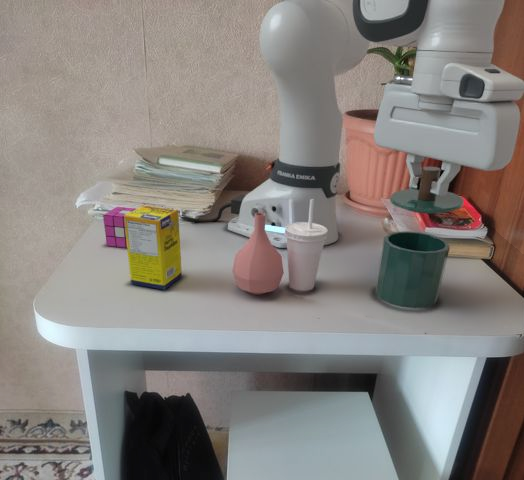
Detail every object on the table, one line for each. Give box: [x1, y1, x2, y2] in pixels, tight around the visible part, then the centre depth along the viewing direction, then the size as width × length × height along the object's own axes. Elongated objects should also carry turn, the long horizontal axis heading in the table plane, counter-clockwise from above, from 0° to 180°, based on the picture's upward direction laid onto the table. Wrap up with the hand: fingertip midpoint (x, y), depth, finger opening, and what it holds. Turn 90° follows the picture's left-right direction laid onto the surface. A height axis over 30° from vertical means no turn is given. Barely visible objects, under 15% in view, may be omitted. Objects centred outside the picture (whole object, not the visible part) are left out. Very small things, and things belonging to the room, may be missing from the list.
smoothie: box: [284, 199, 328, 292], centre depth 77 cm, size 6×6×14 cm
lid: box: [389, 166, 465, 215], centre depth 71 cm, size 10×10×5 cm
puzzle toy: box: [102, 206, 138, 249], centre depth 94 cm, size 6×6×6 cm
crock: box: [375, 230, 451, 309], centre depth 77 cm, size 9×9×9 cm
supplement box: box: [124, 205, 183, 291], centre depth 79 cm, size 6×6×11 cm
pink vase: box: [232, 213, 284, 296], centre depth 76 cm, size 8×8×12 cm
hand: (427, 192), depth 71 cm, fingers closed on lid, 2 cm apart
